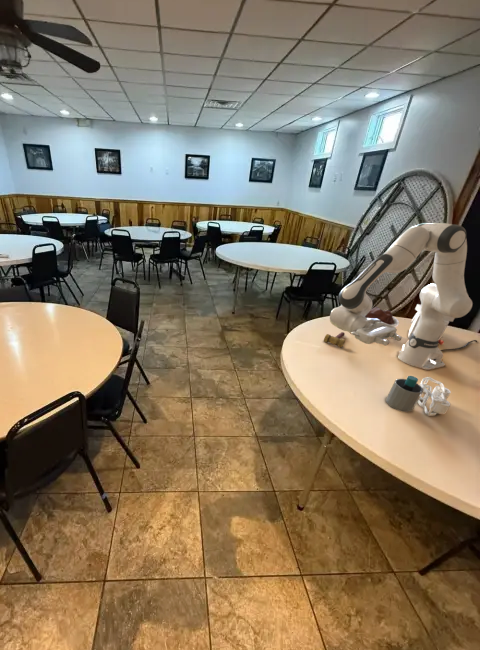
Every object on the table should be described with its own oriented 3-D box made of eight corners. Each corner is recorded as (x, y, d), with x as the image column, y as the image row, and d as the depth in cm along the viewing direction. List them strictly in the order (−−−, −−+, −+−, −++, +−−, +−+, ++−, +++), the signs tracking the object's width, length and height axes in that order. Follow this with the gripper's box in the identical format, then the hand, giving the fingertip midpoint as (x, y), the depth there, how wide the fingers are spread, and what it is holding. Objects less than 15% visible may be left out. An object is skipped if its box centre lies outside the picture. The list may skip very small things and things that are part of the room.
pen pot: (400, 396, 136) (409, 378, 131) (418, 411, 128) (429, 392, 123) (380, 397, 134) (389, 379, 129) (397, 412, 126) (408, 393, 121)
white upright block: (438, 331, 205) (452, 305, 196) (440, 347, 183) (456, 319, 174) (405, 323, 213) (417, 297, 204) (403, 338, 191) (416, 310, 182)
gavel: (336, 326, 190) (353, 332, 185) (334, 333, 192) (351, 339, 187) (325, 334, 175) (343, 340, 170) (322, 342, 177) (340, 348, 172)
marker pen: (400, 400, 133) (413, 375, 126) (406, 405, 130) (420, 380, 123) (392, 400, 132) (405, 375, 125) (399, 406, 129) (412, 380, 122)
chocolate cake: (341, 323, 204) (349, 301, 197) (373, 322, 210) (382, 300, 203) (368, 340, 184) (378, 316, 176) (402, 338, 190) (413, 315, 182)
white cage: (443, 421, 123) (452, 406, 120) (411, 409, 129) (419, 394, 125) (444, 398, 138) (452, 384, 134) (415, 388, 143) (423, 374, 139)
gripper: (351, 325, 130) (383, 339, 121) (379, 317, 140) (410, 330, 130) (346, 338, 134) (376, 353, 124) (374, 330, 143) (404, 343, 134)
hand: (394, 341), depth 127 cm, fingers open, 8 cm apart
